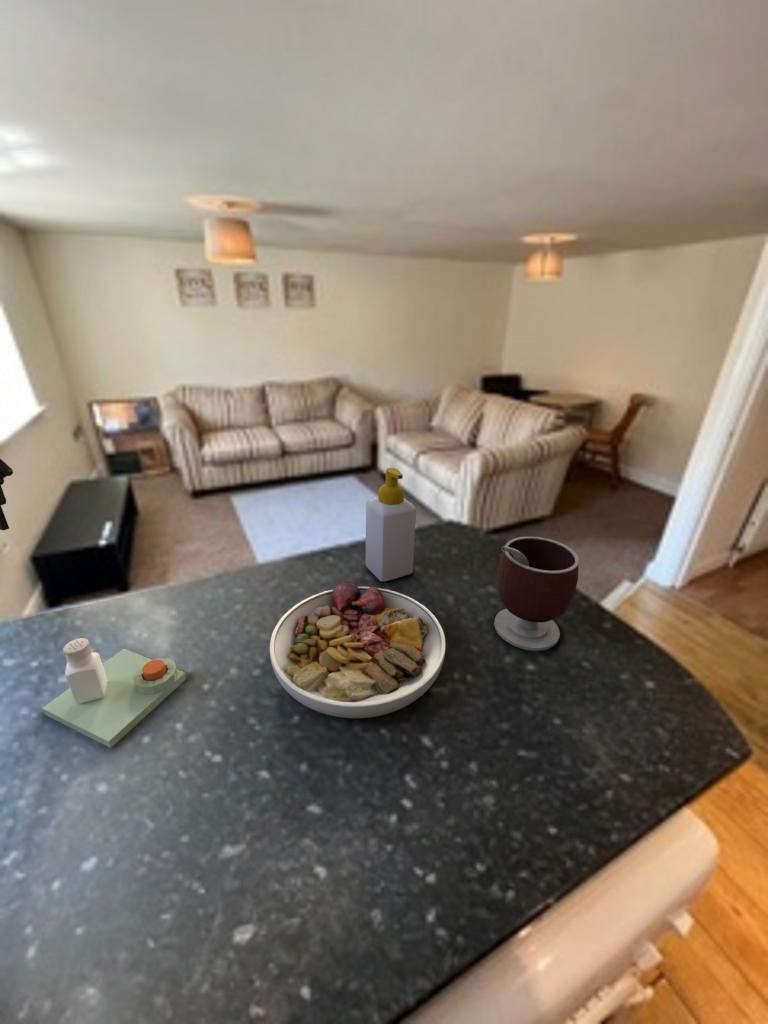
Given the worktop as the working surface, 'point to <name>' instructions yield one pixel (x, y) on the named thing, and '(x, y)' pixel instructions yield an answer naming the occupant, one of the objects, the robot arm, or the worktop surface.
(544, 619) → the mate gourd
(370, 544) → the soap bottle
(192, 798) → the worktop surface
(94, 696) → the pepper shaker
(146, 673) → the button
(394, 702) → the bowl
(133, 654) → the scale
